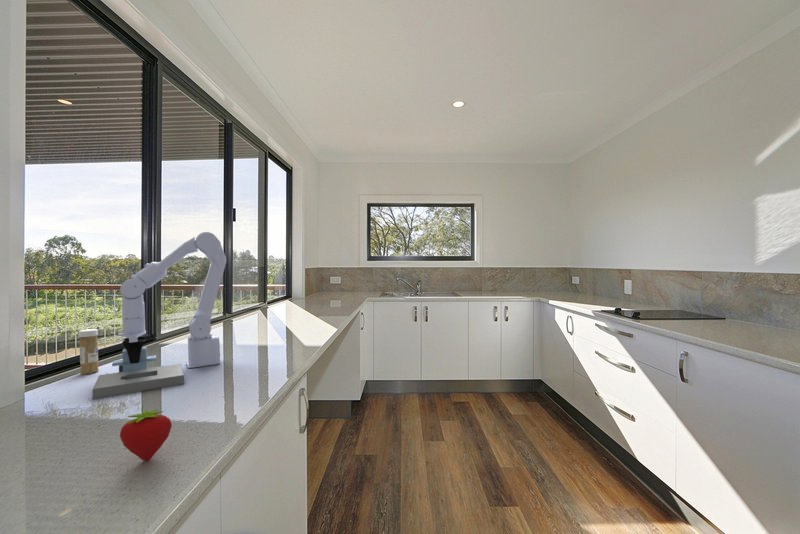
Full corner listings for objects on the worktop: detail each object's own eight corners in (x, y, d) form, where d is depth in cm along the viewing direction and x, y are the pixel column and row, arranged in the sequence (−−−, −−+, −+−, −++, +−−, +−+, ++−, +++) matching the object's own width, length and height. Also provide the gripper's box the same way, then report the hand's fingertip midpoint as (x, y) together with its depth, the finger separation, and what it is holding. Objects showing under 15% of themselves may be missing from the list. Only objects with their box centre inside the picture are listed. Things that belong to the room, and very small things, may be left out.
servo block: (156, 365, 121) (155, 342, 121) (156, 368, 117) (155, 345, 117) (113, 371, 115) (113, 347, 115) (112, 374, 111) (111, 350, 111)
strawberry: (169, 464, 63) (167, 405, 63) (115, 474, 61) (113, 413, 60) (175, 448, 69) (174, 394, 69) (126, 456, 66) (124, 400, 66)
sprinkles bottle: (97, 372, 116) (96, 330, 116) (78, 375, 114) (77, 331, 113) (99, 369, 120) (98, 327, 120) (81, 371, 118) (80, 329, 117)
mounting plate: (181, 371, 117) (180, 363, 117) (184, 383, 105) (183, 374, 105) (99, 383, 106) (99, 375, 106) (92, 399, 94) (92, 389, 94)
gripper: (119, 316, 120) (120, 358, 120) (115, 322, 107) (117, 369, 108) (146, 314, 123) (147, 354, 124) (145, 319, 111) (146, 365, 112)
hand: (135, 361), depth 116 cm, fingers closed on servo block, 4 cm apart
